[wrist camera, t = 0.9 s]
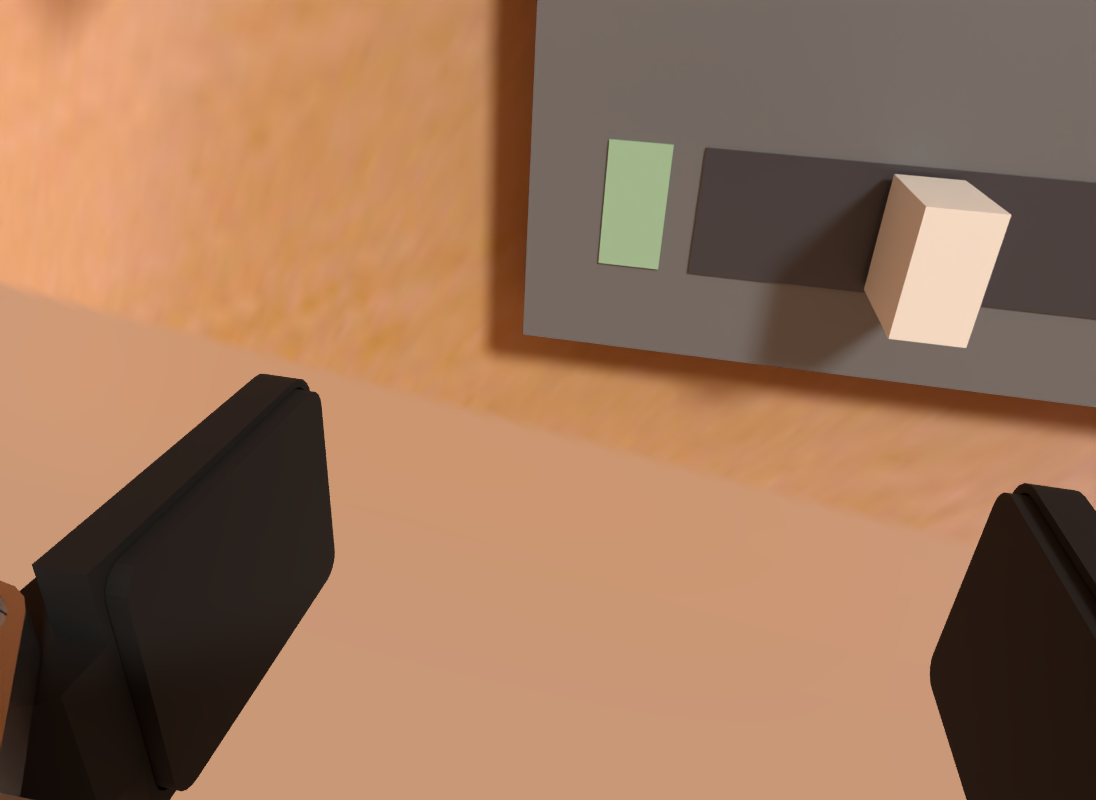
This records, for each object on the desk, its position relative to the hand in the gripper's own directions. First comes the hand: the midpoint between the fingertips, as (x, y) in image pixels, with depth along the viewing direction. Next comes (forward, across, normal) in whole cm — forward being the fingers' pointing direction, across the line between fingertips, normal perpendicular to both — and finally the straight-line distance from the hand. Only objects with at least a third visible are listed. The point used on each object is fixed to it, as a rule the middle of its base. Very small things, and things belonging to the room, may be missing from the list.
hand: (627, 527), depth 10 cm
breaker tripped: (+17, -7, 0) cm, 18 cm away
